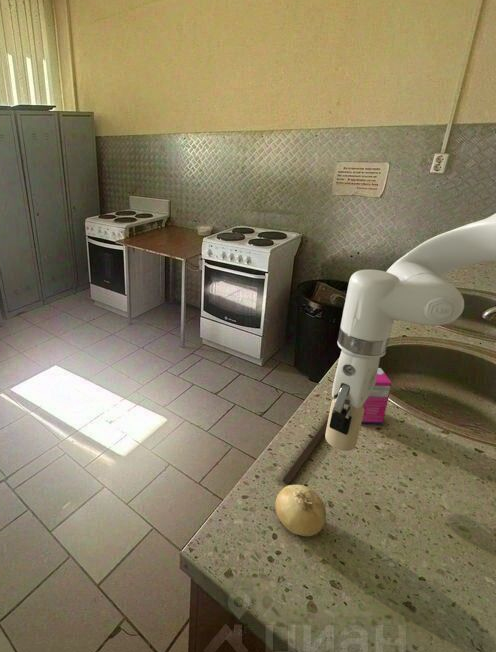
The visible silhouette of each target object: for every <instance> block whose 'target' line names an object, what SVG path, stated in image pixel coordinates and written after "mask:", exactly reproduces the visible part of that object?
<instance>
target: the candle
mask: <svg viewBox="0 0 496 652" xmlns="http://www.w3.org/2000/svg"><path fill="white" fill-rule="evenodd" d="M347 399H348V400H350V399H349V397H347ZM335 401H336V398H335V399H334V398H332V400H331V402H330V404H331V405H330V409H329V413H328V414H329V415H328V417H329V418H328V417H327V419H328V423H327V428H326V433H325V434H324V436H325V441H326V442H327V443H328V444H329V445H330V447H333V448H334V449H336V450H339V451H343V452H349V451H353V450H354V449H355V448H356V446H357V443H358V438H359V435H360V431H361V427H362V424H363V423H362V418H363V414H364V407H363V406H362V407H360V408H355V407H353V408H352V411H351V415H350V416H351V417H352V419H351V423H350V428H349V432H348V434H347V435H345V434H343V433H340V432H338V431H336V430H334V429H332V428H330V426H329V425H330V420H331V416H332V411H333V407H334V404H335ZM348 406H349V405H347V404H344V408H345V409H346V410H347V409H348Z"/></svg>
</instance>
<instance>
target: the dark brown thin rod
mask: <svg viewBox="0 0 496 652" xmlns="http://www.w3.org/2000/svg"><path fill="white" fill-rule="evenodd" d="M328 418H329V416H328V417H327V419H326V420H325V421H324V423H323V424H322V426H321V427H320V428H319V429H318V431H317V432H316V434H315V435H314V436H313V438H312V439H311V441H310V442H309V443H308V445H307V446H306V447H305V448H304V450H303V451H302V452H301V454H300V456H298V458H297V459H296V460H295V462H294V463H293V464H292V466H291V468H290V469H289V470H288V472H287V473H286V474H285V476H284V477H283V478H282V482H283V483H285V484H287V486H289V485H290V484H291V482H292V480H293V479H294V478H295V477H296V475H297V474H298V473H299V471H300V470H301V468H302V467H303V465H304V464H305V463H306V462H307V460H308V458H310V455H311V454H312V452H313V451H314V450H315V448H316V447H317V446H318V445H319V442H320V441H321V440H322V438H323V437H324V436H325V434H326V428H327V423H328Z"/></svg>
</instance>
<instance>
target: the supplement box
mask: <svg viewBox="0 0 496 652" xmlns="http://www.w3.org/2000/svg"><path fill="white" fill-rule="evenodd" d="M392 386H393V383H392V381H391V379H389V377H388V376H387V374H386V373H385V372H384V370H383V369H382V368H381V367H378V371H377V377H376V382H375V386H374V388H373V390H372V392H371V393H370V395H369V396H368V398H367V400H366V401H365V403H364V404H363V405H362V406H363V407H364V414H363V418H362V423H361V424H369V425H370V424H371V425H383V422H384V418H385V413H386V410H387V407H388V401H389V397H390V393H391V389H392Z"/></svg>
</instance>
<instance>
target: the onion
mask: <svg viewBox="0 0 496 652" xmlns="http://www.w3.org/2000/svg"><path fill="white" fill-rule="evenodd" d="M279 491H280V492H279V493H278V494H277V496H276V499H275V505H274V506H275V512H276V514H277V518H278V519H279V521H280V522H281V523H282V525H283V526H284V527H285V528H286V529H287V530H288V531H289V532H290V533H292V534H294V535H297V536H302V537H312V536H315V535H317V534H318V533H320V532H321V531H322V529H323V527H324V526H325V524H326V517H327V509H326V506H325V504H324V501H323V500H322V498H321V497H320V496H319V494H318V493H317V492H316V491H315V490H313V489H312V488H311V487H308V486H305V485H302V484H289V485H286V486H284V487H283V488H282V489H281V490H279Z"/></svg>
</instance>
